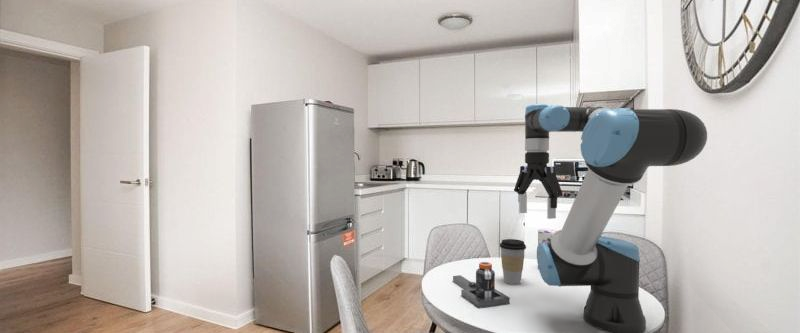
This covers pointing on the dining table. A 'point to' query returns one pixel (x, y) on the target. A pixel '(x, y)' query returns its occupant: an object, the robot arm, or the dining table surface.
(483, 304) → the square metal pan
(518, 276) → the coffee cup
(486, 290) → the pill bottle
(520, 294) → the dining table surface
